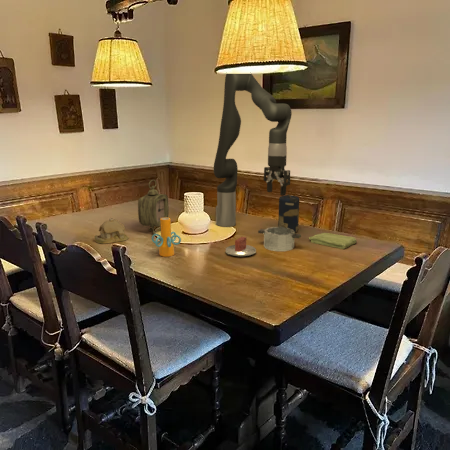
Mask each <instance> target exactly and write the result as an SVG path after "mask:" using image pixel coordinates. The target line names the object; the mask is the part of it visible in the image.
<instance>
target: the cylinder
mask: <svg viewBox="0 0 450 450" xmlns="http://www.w3.org/2000/svg"><path fill="white" fill-rule="evenodd" d="M171 220H172V219H171V218H170V217H168V218H161V219H160V223H161V226H160V234H159V233H156V234H154V235H153V234H152V236H151V241H152V242H153V244H155V246H156V247H157V248H158V250H159V252H158V253H159V254H158V255H159V256H160V257H164V258H169V257H172V256H174V255H175V246H178V245H180V244H181V242H182V238H181V236H180V235H178V234H177V233H176V231H172V222H171ZM155 236H157V237H156V239H154V238H155ZM177 238H178V242H175V241H176V239H177Z"/></svg>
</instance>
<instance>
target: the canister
mask: <svg viewBox="0 0 450 450" xmlns="http://www.w3.org/2000/svg"><path fill="white" fill-rule="evenodd" d="M299 212H300V197H299V196H296V195H290V194H285V195H280V196H279V198H278V224H277V225H278V226H277V227H285V228H290V229H293V230H294V231H295V233H297V232H298V230H299V223H300V222H299V219H300V218H299V217H300V214H299Z"/></svg>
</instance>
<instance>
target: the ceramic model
mask: <svg viewBox="0 0 450 450" xmlns="http://www.w3.org/2000/svg"><path fill="white" fill-rule="evenodd" d="M125 230H126V227H125V225H124V224H123V223H121V222H120V221H119V219H116V218H115V219H113V218H111V217H110V218H109V220H105V221H103V222H102V224H100V225H99V229H98V231H99V235H97V234H95V236H94V241H95V242H96V243H98V244H111V243H116V242H117V243H118V242H124V241H127V240H129V239H130V237H129V236H128V235H126V233H125Z"/></svg>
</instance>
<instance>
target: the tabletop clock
mask: <svg viewBox="0 0 450 450" xmlns="http://www.w3.org/2000/svg"><path fill="white" fill-rule="evenodd" d="M152 182H154V183H155V185H151V183H152ZM156 187H157V181H156V180H155V179H151V180H149V182H148V188H149V190H148V192H147V193H146V194H145V195H143V196H142V197H140V198H138V201H137V213H138V214H137V215H138V216H137V217H138V221H139V222H138V223H139V224H140V225H141V226H146V227H149V228H148V231H149V232H151V233H152V236H153V235H154V234H157V233H156V231H155V227H156V228H158V227H161V223H160V219H161V218H169V197H168V195H167V194H164V193H163V194H162V193H159V191H158V190H157V189H155V188H156Z"/></svg>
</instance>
